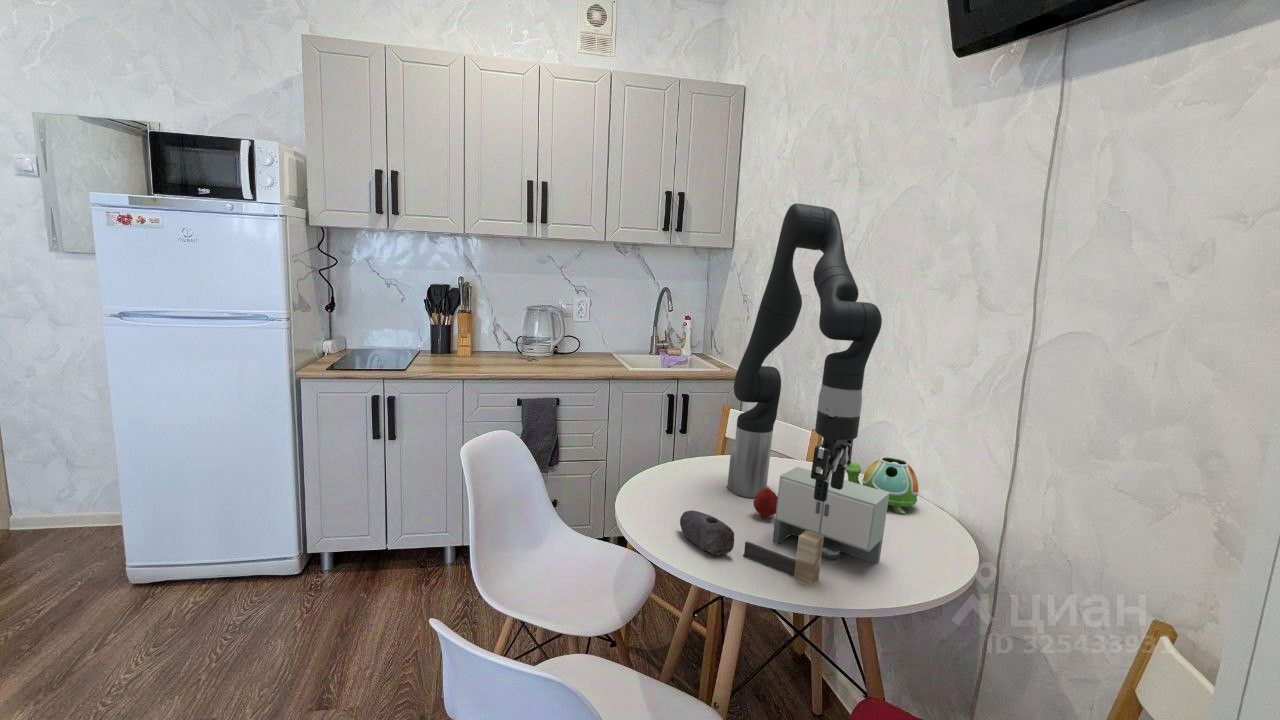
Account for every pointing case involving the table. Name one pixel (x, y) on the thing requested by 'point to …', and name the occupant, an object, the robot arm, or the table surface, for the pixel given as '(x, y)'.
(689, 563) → the table surface
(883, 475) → the turtle holder
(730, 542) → the perforated stone tool
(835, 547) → the steel puck
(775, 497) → the onion
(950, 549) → the table surface
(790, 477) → the cabinet
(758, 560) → the blade tool
